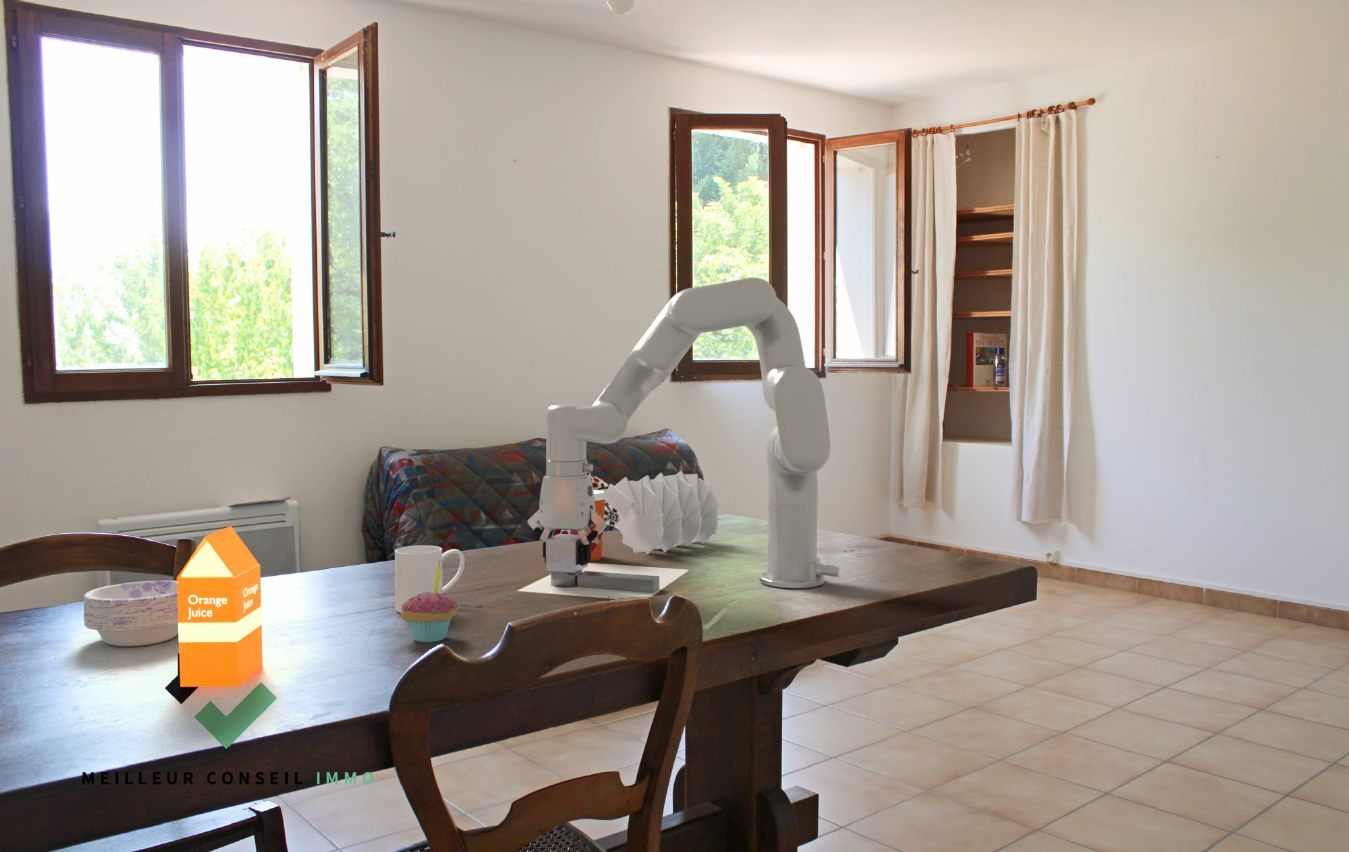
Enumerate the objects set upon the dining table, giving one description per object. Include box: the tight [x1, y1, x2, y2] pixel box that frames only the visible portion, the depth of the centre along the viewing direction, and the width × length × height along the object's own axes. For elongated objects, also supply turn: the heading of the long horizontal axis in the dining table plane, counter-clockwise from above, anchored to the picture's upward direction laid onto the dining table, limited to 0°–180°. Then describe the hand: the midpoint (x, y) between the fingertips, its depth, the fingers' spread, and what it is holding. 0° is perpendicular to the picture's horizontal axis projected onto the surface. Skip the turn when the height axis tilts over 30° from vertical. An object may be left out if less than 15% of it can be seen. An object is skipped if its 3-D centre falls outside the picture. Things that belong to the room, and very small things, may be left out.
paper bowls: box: [83, 580, 178, 648], centre depth 154 cm, size 15×15×8 cm
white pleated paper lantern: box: [605, 470, 720, 555], centre depth 229 cm, size 18×18×25 cm
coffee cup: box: [571, 489, 606, 562], centre depth 216 cm, size 8×8×15 cm
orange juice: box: [176, 525, 264, 688], centre depth 136 cm, size 8×9×20 cm
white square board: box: [517, 562, 690, 600], centre depth 194 cm, size 25×28×1 cm
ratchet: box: [550, 570, 659, 593], centre depth 188 cm, size 21×6×7 cm, turn 73°
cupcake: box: [400, 560, 458, 643], centre depth 155 cm, size 9×8×12 cm
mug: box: [394, 544, 466, 614], centre depth 174 cm, size 12×8×10 cm, turn 124°
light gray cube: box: [545, 533, 588, 573], centre depth 190 cm, size 6×6×6 cm
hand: (566, 562), depth 190 cm, fingers open, 6 cm apart
